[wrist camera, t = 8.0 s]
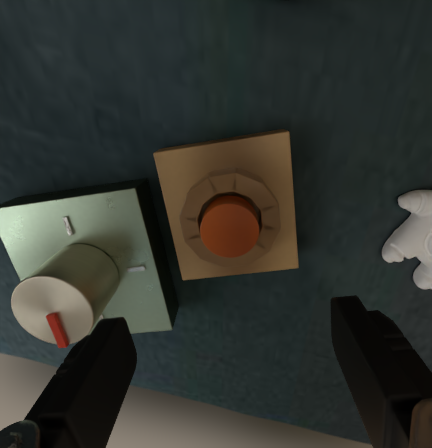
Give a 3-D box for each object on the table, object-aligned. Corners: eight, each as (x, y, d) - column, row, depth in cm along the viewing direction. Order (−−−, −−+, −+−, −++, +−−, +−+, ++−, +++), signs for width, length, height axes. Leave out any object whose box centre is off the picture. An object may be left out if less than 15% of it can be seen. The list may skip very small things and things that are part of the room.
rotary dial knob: (42, 246, 22) (-7, 283, 17) (109, 239, 21) (76, 275, 17) (64, 305, 24) (25, 351, 19) (126, 299, 23) (101, 345, 19)
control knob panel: (66, 318, 28) (46, 342, 25) (16, 197, 24) (-15, 210, 21) (179, 307, 27) (172, 331, 24) (147, 178, 23) (134, 188, 20)
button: (207, 249, 20) (205, 261, 19) (198, 199, 19) (195, 207, 18) (259, 242, 20) (262, 254, 18) (253, 191, 19) (256, 199, 17)
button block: (186, 266, 25) (178, 294, 22) (160, 148, 22) (145, 157, 18) (293, 254, 24) (303, 281, 21) (284, 128, 21) (295, 133, 17)
